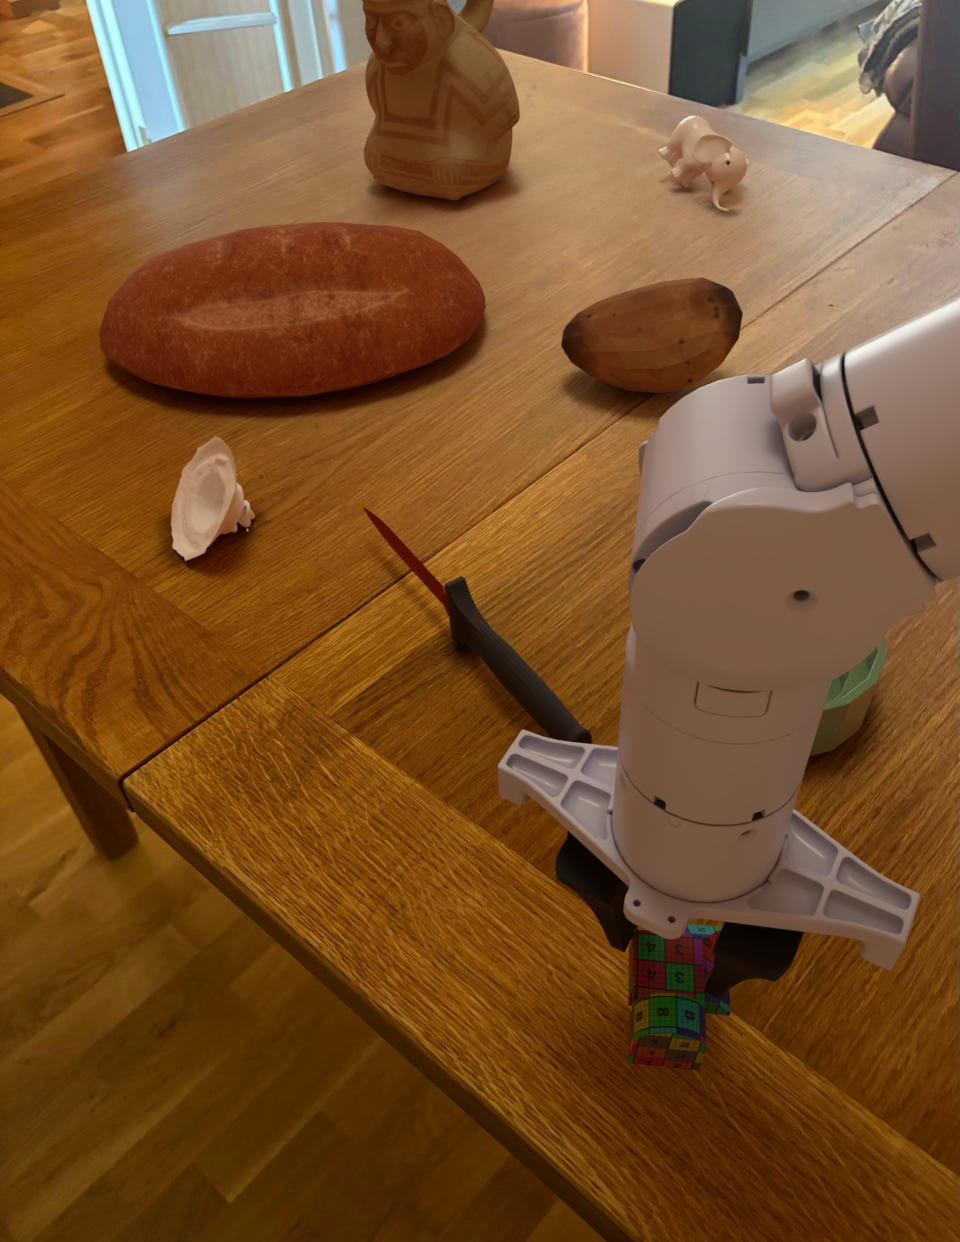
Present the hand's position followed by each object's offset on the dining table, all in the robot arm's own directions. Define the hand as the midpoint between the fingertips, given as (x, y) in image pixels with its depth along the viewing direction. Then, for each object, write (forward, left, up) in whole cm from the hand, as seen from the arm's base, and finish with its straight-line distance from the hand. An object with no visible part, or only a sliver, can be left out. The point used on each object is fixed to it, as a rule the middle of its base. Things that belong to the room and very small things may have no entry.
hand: (672, 951), depth 42 cm
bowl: (+2, -20, -6) cm, 21 cm away
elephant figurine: (+29, -80, -6) cm, 85 cm away
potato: (+20, -45, -6) cm, 50 cm away
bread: (+49, -39, -6) cm, 63 cm away
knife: (+19, -15, -6) cm, 25 cm away
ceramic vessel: (+54, -72, -6) cm, 90 cm away
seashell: (+39, -16, -6) cm, 43 cm away
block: (-1, +1, -2) cm, 2 cm away
